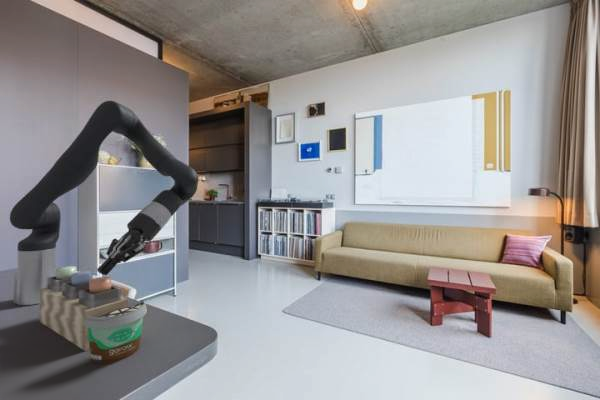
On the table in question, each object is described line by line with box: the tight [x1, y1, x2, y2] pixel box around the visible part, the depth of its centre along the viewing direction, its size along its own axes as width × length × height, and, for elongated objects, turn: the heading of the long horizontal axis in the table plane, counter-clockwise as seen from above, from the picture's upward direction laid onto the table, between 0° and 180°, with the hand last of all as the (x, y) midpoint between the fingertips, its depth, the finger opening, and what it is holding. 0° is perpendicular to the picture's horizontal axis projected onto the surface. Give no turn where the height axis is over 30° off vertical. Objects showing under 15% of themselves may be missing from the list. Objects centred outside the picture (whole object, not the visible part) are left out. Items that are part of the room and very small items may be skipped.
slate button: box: [71, 270, 94, 287], centre depth 73 cm, size 4×4×3 cm
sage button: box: [55, 265, 78, 281], centre depth 78 cm, size 4×4×3 cm
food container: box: [84, 299, 148, 364], centre depth 60 cm, size 12×6×10 cm, turn 148°
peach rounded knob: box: [89, 276, 112, 294], centre depth 67 cm, size 4×4×3 cm
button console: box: [39, 275, 129, 352], centre depth 73 cm, size 28×9×12 cm, turn 59°
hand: (101, 273), depth 68 cm, fingers closed
